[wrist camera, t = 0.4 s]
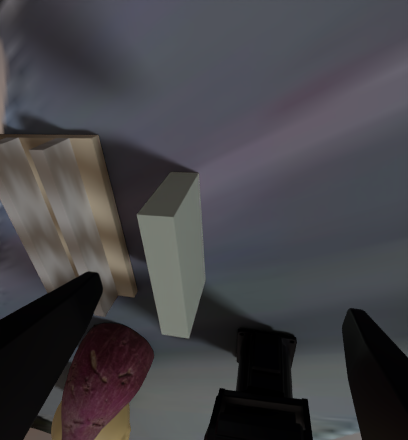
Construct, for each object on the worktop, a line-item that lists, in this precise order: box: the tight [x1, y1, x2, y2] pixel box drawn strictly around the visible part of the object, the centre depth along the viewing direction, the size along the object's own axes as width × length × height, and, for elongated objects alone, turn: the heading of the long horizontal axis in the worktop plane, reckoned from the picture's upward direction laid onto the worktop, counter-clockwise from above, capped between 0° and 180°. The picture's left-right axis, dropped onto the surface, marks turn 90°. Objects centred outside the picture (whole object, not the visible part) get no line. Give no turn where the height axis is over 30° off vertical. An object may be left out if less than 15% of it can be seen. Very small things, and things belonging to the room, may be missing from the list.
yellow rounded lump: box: [51, 401, 131, 440], centre depth 44 cm, size 12×12×11 cm
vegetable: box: [61, 323, 154, 440], centre depth 35 cm, size 10×10×15 cm
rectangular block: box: [137, 172, 205, 339], centre depth 23 cm, size 12×2×7 cm, turn 3°
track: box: [0, 134, 138, 317], centre depth 26 cm, size 18×10×4 cm, turn 3°
